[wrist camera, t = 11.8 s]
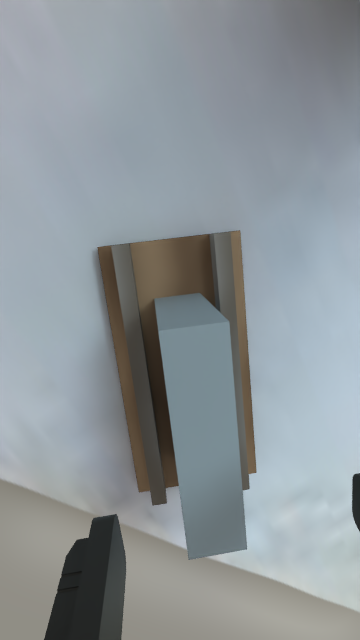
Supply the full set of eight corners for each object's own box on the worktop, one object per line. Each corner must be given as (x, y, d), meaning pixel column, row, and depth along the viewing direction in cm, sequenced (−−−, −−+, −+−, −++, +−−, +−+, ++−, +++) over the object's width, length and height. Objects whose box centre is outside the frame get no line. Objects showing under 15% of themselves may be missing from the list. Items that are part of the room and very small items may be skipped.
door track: (235, 230, 22) (247, 229, 20) (252, 464, 26) (262, 486, 24) (99, 246, 21) (93, 247, 19) (139, 482, 26) (138, 508, 23)
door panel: (199, 292, 22) (229, 321, 14) (215, 451, 25) (246, 549, 17) (154, 298, 21) (158, 330, 14) (175, 458, 24) (188, 559, 17)
